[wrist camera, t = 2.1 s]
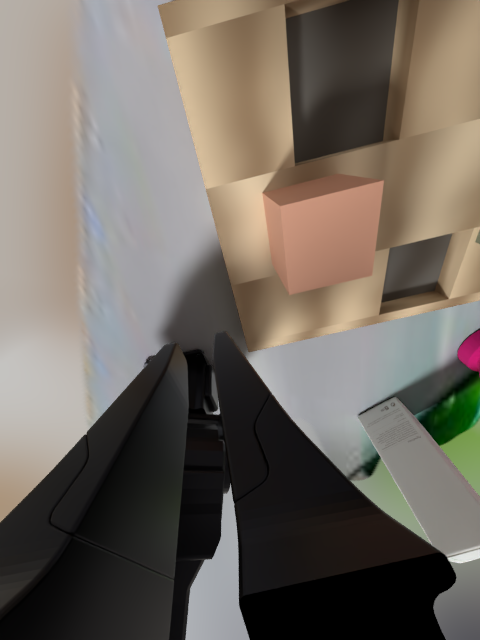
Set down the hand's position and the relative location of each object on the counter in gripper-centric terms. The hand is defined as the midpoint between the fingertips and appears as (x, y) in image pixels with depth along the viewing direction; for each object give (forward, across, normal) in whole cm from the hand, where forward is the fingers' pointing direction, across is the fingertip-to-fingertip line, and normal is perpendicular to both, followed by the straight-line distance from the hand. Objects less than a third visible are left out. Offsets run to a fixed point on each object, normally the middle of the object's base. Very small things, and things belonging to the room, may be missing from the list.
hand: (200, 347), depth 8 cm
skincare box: (+13, -19, +32) cm, 39 cm away
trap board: (+13, -13, 0) cm, 18 cm away
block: (+11, -7, 0) cm, 13 cm away
